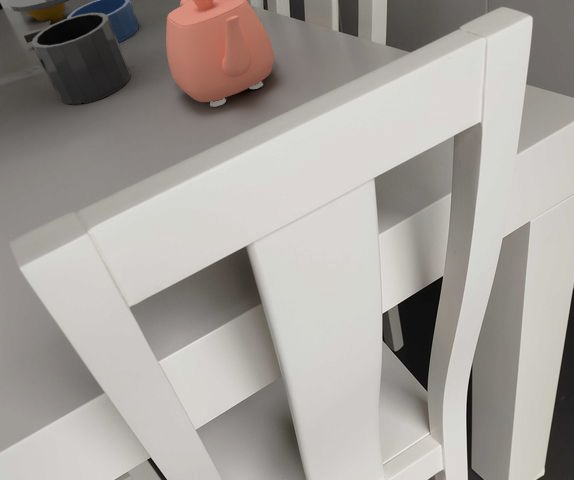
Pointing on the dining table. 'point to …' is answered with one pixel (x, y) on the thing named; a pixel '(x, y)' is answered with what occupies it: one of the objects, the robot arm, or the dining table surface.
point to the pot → (82, 58)
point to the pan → (113, 15)
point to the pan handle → (33, 34)
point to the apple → (49, 14)
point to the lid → (32, 4)
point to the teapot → (217, 48)
